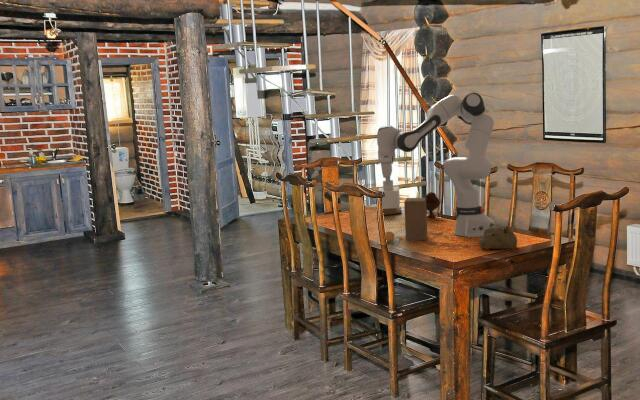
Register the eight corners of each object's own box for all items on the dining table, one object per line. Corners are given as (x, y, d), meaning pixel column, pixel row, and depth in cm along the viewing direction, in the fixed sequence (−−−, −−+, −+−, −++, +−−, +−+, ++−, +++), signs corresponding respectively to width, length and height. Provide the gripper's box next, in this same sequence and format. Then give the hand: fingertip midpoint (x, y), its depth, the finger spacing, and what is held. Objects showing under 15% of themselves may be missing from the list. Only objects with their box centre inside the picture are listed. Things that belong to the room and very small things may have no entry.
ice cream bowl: (443, 216, 403) (442, 190, 401) (435, 219, 394) (435, 193, 392) (426, 215, 409) (425, 190, 406) (418, 218, 400) (417, 193, 397)
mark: (398, 238, 353) (398, 238, 353) (397, 244, 341) (397, 243, 341) (379, 239, 354) (379, 238, 354) (377, 244, 343) (377, 244, 343)
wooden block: (425, 240, 345) (424, 200, 342) (405, 240, 347) (404, 201, 344) (427, 236, 355) (426, 197, 351) (407, 236, 357) (406, 197, 354)
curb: (393, 244, 342) (393, 241, 342) (393, 244, 341) (393, 241, 341) (381, 244, 343) (381, 241, 343) (381, 244, 342) (381, 242, 342)
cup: (380, 203, 371) (379, 179, 369) (399, 202, 369) (398, 178, 367) (378, 209, 356) (377, 183, 354) (398, 208, 354) (397, 182, 352)
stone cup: (381, 217, 411) (380, 192, 408) (375, 214, 422) (374, 189, 420) (406, 215, 414) (405, 190, 411) (399, 211, 425) (398, 187, 423)
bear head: (471, 248, 323) (472, 223, 322) (501, 246, 331) (502, 221, 330) (491, 253, 311) (492, 227, 310) (521, 251, 319) (523, 225, 318)
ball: (394, 243, 347) (394, 235, 350) (393, 237, 343) (393, 229, 346) (384, 244, 348) (385, 236, 351) (383, 237, 344) (383, 229, 347)
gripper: (381, 155, 369) (383, 181, 371) (379, 160, 349) (380, 187, 352) (393, 154, 368) (395, 180, 370) (391, 159, 348) (393, 186, 351)
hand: (388, 183), depth 361 cm, fingers closed on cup, 3 cm apart
